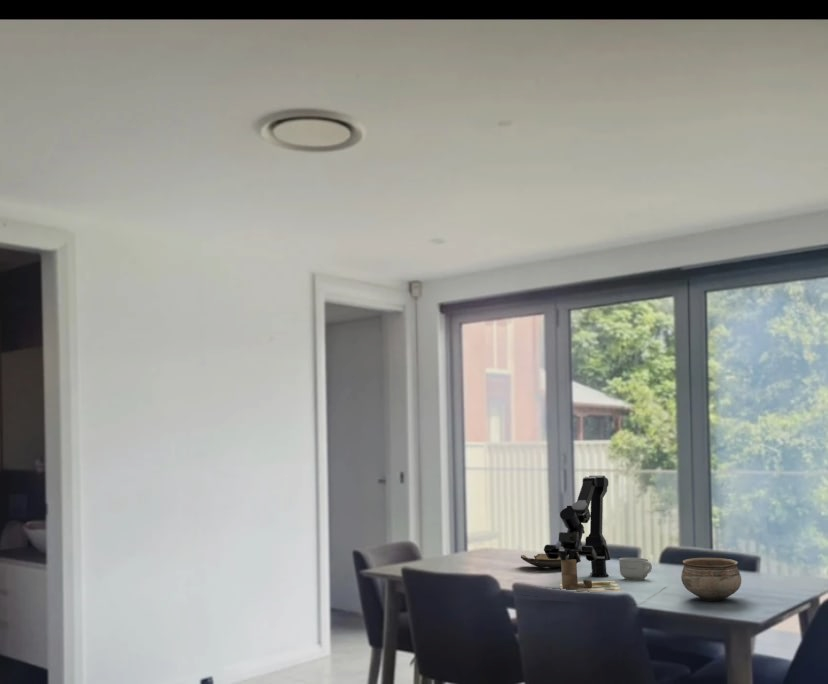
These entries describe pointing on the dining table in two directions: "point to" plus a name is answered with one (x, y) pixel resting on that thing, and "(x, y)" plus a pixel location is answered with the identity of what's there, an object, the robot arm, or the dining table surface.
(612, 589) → the dial board
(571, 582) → the brown piece
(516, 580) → the dining table surface
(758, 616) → the dining table surface
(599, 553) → the robot arm
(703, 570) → the cooking pot
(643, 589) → the dining table surface
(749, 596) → the dining table surface
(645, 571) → the teacup
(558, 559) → the oil lamp
